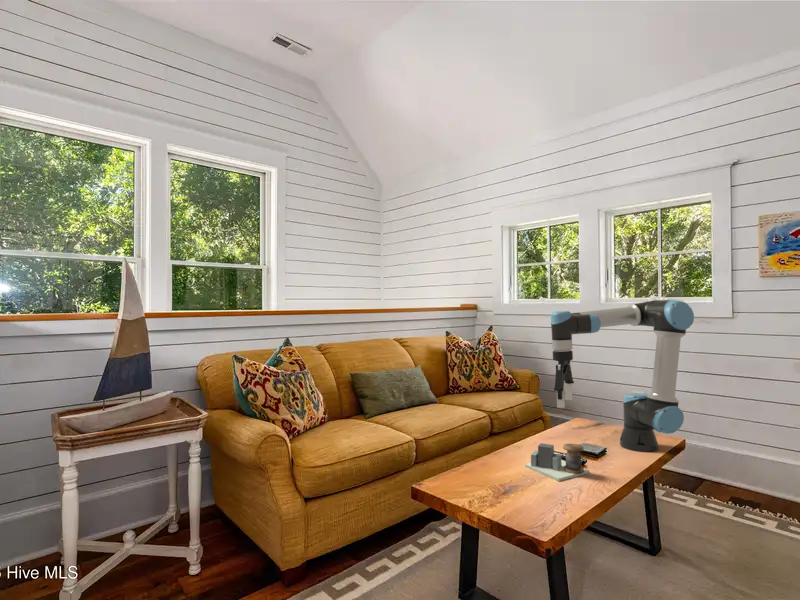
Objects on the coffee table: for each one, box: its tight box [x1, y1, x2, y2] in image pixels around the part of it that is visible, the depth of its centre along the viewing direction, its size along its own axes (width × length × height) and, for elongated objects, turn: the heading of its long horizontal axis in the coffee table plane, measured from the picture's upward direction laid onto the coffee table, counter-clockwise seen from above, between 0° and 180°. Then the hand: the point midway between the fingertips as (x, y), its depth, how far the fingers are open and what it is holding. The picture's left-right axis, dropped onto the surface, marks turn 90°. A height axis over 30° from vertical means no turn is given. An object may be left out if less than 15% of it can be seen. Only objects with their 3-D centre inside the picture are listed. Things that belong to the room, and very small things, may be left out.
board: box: [524, 459, 590, 482], centre depth 184 cm, size 16×18×1 cm
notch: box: [530, 449, 562, 471], centre depth 185 cm, size 6×10×4 cm, turn 58°
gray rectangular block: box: [537, 443, 555, 469], centre depth 185 cm, size 4×5×8 cm
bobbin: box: [562, 443, 584, 474], centre depth 180 cm, size 7×7×9 cm
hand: (565, 403), depth 189 cm, fingers open, 13 cm apart
